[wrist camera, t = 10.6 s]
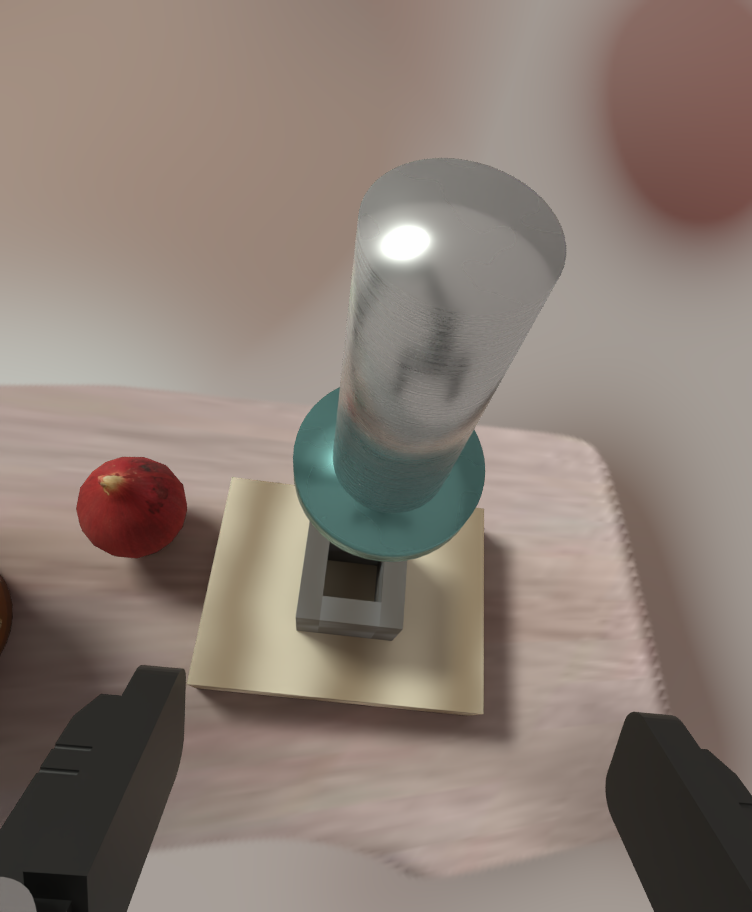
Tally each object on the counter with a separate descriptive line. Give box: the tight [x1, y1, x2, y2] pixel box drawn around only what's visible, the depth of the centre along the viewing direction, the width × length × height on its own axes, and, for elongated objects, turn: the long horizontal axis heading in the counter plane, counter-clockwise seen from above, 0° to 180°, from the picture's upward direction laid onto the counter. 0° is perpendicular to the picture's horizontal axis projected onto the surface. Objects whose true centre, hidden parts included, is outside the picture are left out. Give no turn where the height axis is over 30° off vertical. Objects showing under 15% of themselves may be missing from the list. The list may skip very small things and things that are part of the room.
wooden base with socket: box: [187, 477, 484, 716], centre depth 33 cm, size 16×12×7 cm
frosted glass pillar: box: [293, 158, 566, 562], centre depth 16 cm, size 6×6×15 cm
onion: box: [76, 457, 187, 558], centre depth 33 cm, size 6×6×8 cm
